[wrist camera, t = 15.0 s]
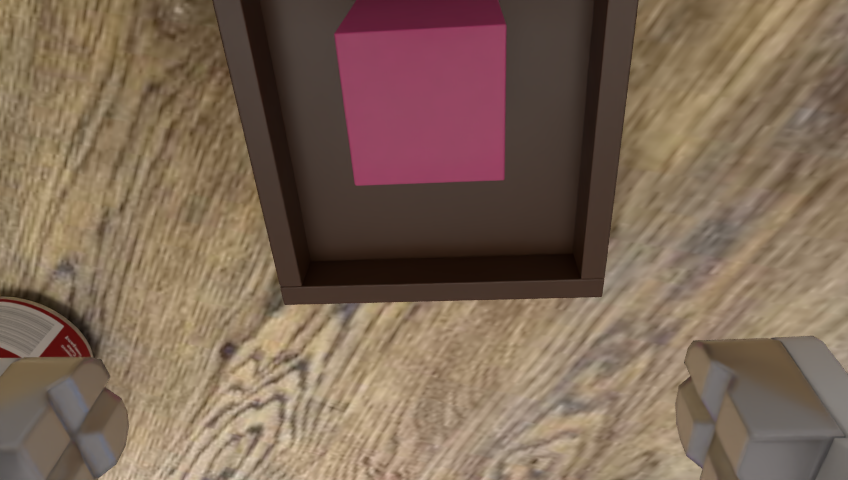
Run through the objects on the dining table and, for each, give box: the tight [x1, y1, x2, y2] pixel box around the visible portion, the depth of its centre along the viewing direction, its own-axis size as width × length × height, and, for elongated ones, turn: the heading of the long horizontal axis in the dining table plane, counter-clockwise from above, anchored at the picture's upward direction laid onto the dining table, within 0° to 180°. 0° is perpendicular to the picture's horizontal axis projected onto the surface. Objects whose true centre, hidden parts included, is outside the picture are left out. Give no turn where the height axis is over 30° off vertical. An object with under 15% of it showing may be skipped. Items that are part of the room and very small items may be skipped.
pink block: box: [334, 0, 507, 186], centre depth 21 cm, size 5×5×5 cm
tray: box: [212, 0, 638, 305], centre depth 22 cm, size 20×14×3 cm
